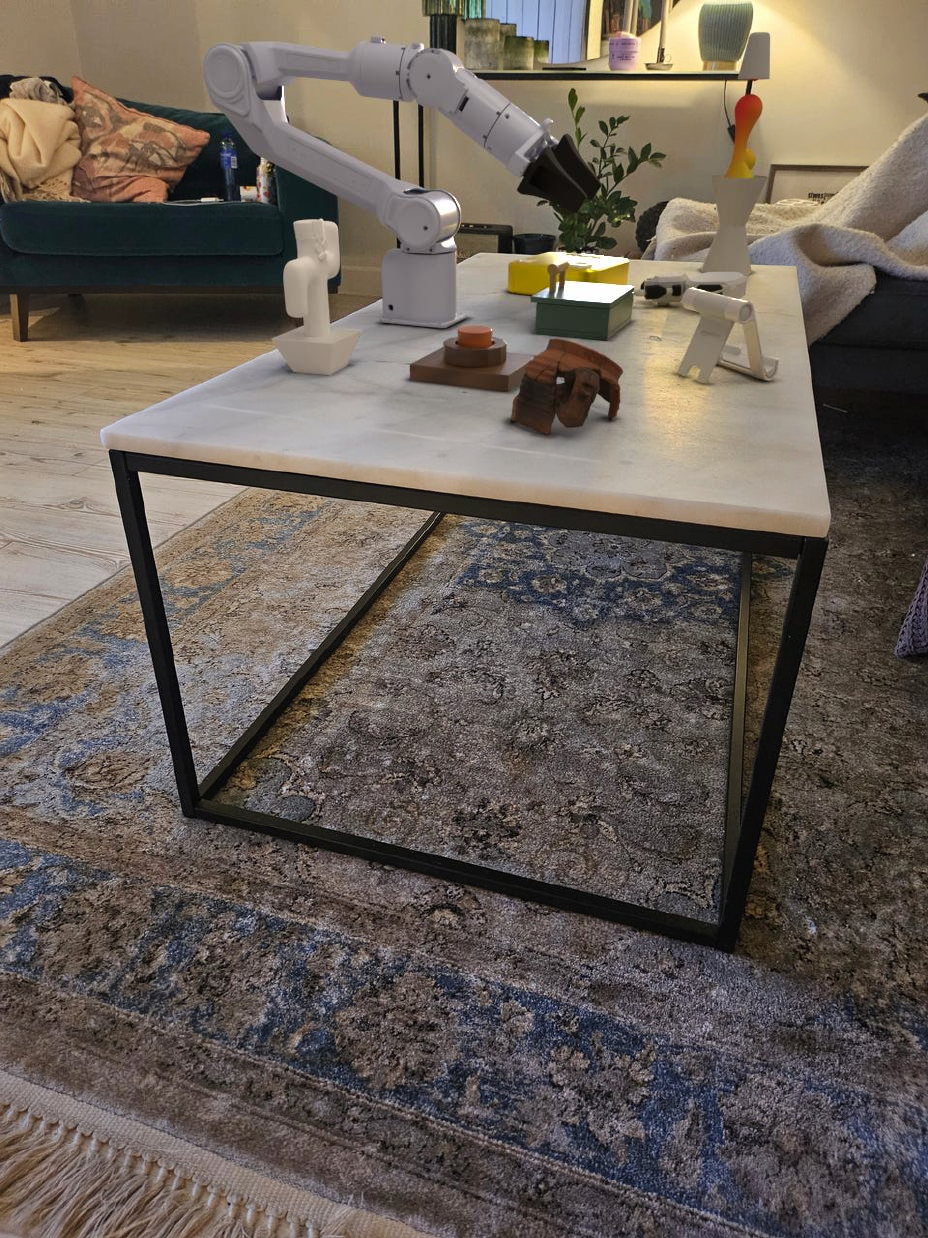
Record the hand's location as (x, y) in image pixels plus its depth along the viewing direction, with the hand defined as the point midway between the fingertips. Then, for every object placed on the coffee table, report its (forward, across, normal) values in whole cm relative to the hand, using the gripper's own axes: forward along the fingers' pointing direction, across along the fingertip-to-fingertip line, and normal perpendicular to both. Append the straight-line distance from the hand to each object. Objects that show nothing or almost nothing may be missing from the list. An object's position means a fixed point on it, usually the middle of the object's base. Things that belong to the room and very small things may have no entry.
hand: (589, 198), depth 105 cm
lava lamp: (+22, +54, +11) cm, 60 cm away
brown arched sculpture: (+13, -39, +6) cm, 42 cm away
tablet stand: (+24, -17, +1) cm, 29 cm away
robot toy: (+19, +20, +9) cm, 29 cm away
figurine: (-12, -30, +23) cm, 39 cm away
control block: (+2, -27, +14) cm, 30 cm away
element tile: (+3, +26, +20) cm, 33 cm away
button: (+1, -26, +11) cm, 29 cm away
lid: (+6, +1, +10) cm, 12 cm away
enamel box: (+8, +1, +13) cm, 16 cm away
